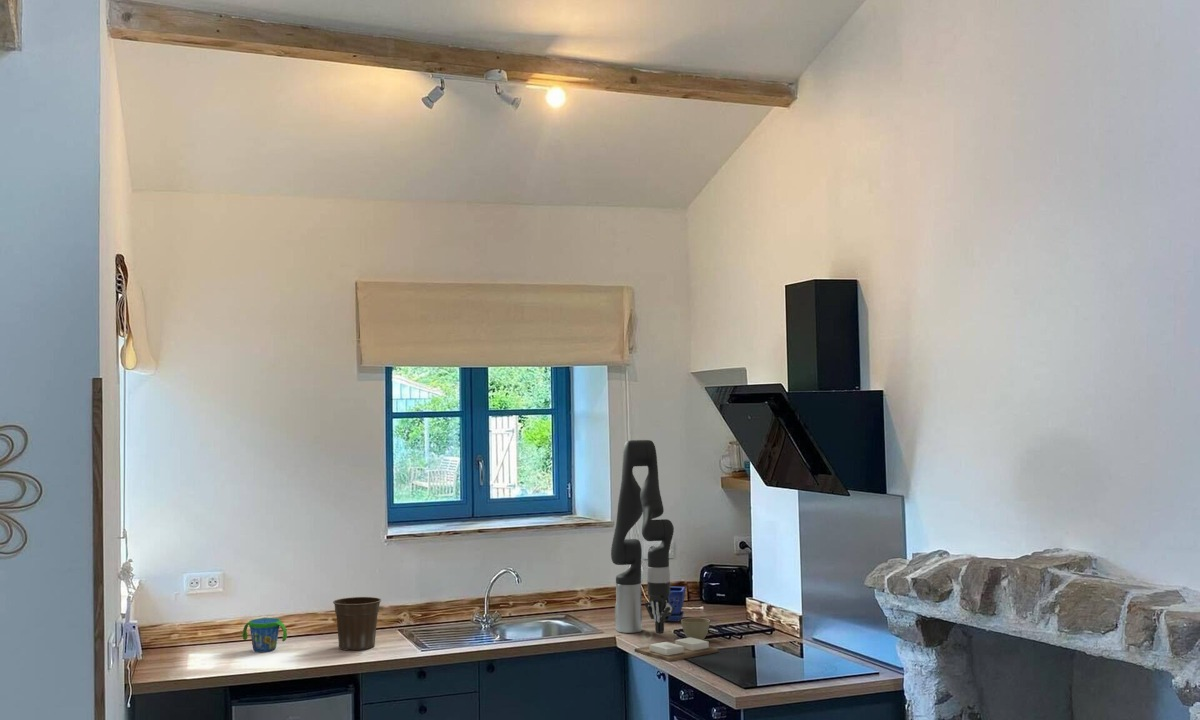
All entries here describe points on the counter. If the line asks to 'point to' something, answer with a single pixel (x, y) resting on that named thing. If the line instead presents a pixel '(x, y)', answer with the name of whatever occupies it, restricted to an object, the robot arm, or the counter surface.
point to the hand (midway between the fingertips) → (659, 633)
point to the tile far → (692, 643)
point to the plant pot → (356, 622)
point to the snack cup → (264, 633)
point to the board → (673, 657)
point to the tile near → (666, 648)
